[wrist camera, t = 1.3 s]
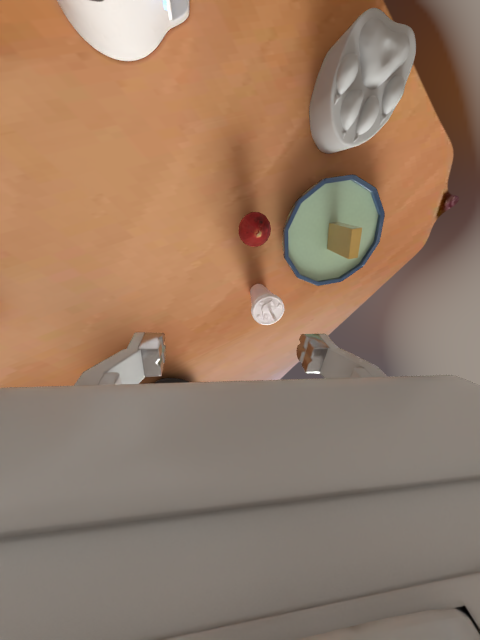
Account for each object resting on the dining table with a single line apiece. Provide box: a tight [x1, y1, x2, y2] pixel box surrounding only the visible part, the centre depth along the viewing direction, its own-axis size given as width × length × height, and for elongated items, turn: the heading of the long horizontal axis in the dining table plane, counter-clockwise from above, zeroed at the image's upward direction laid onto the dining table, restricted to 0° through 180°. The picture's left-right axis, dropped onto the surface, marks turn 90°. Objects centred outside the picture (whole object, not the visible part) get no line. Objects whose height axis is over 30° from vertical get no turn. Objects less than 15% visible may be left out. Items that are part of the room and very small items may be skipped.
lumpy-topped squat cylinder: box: [309, 8, 416, 154], centre depth 33 cm, size 10×13×9 cm
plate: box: [283, 174, 385, 286], centre depth 41 cm, size 20×20×9 cm
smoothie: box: [250, 284, 284, 325], centre depth 45 cm, size 6×6×14 cm
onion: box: [239, 212, 271, 247], centre depth 40 cm, size 6×6×8 cm
